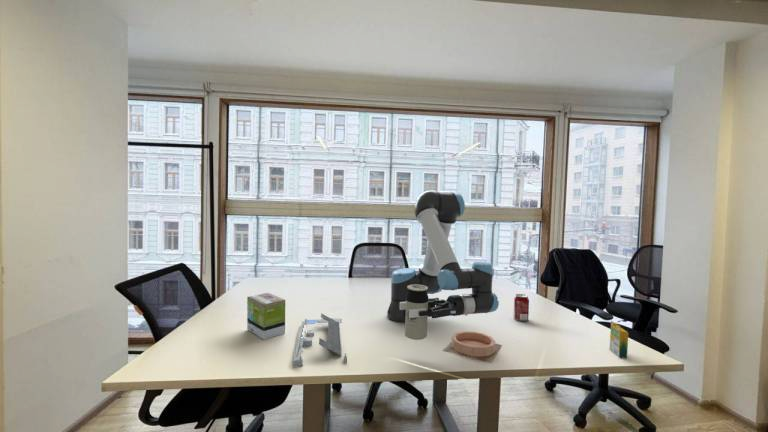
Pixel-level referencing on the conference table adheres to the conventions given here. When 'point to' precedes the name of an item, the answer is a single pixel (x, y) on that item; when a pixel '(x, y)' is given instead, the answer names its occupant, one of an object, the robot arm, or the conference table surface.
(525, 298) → the soda can
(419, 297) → the travel mug
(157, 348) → the conference table surface
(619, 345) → the crayon box
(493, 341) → the bowl
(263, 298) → the tea box
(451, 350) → the cork mat
